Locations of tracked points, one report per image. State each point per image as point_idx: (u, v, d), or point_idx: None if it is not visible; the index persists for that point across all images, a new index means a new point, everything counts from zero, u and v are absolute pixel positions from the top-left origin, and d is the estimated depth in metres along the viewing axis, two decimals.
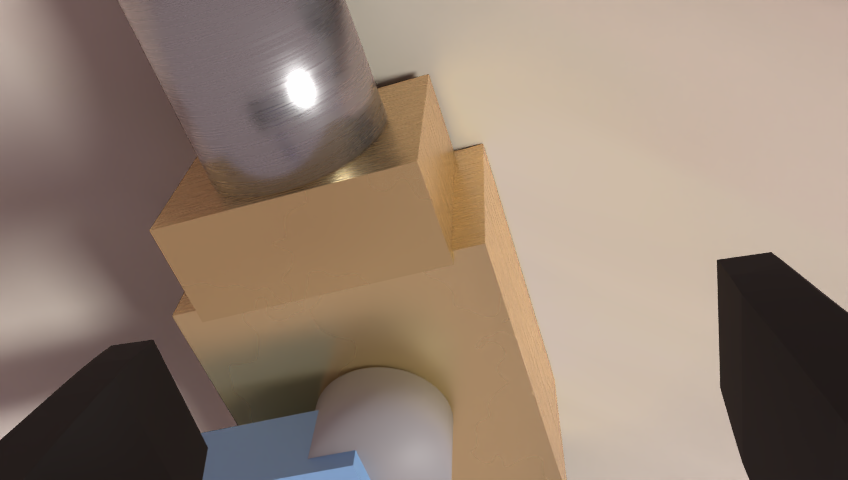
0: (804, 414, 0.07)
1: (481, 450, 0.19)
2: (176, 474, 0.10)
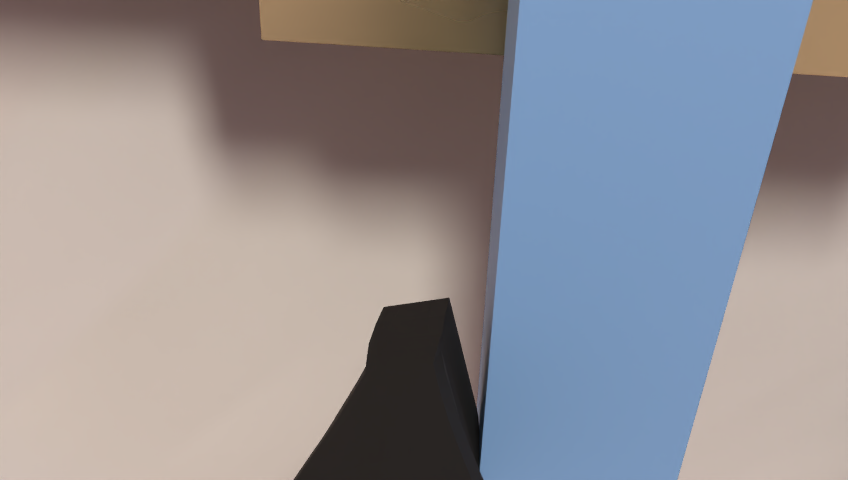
0: None
1: None
2: (472, 441, 0.10)
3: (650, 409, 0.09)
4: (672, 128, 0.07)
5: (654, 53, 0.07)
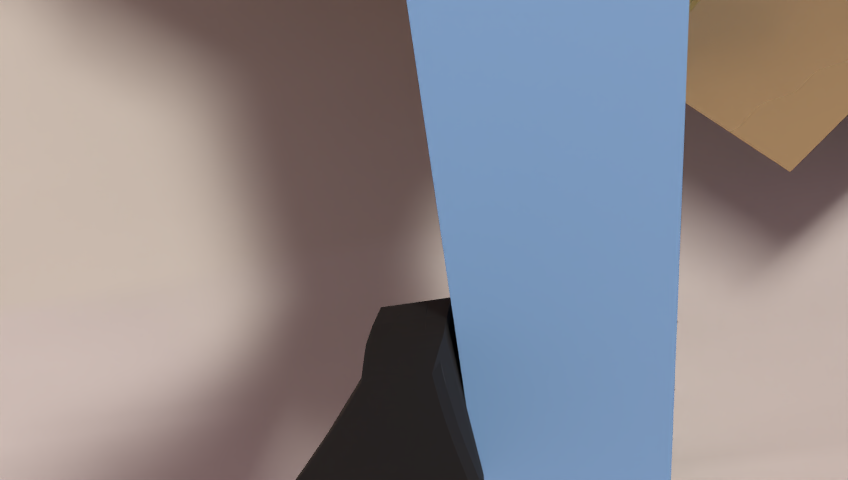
0: None
1: None
2: (474, 441, 0.10)
3: (627, 337, 0.09)
4: (580, 32, 0.07)
5: None
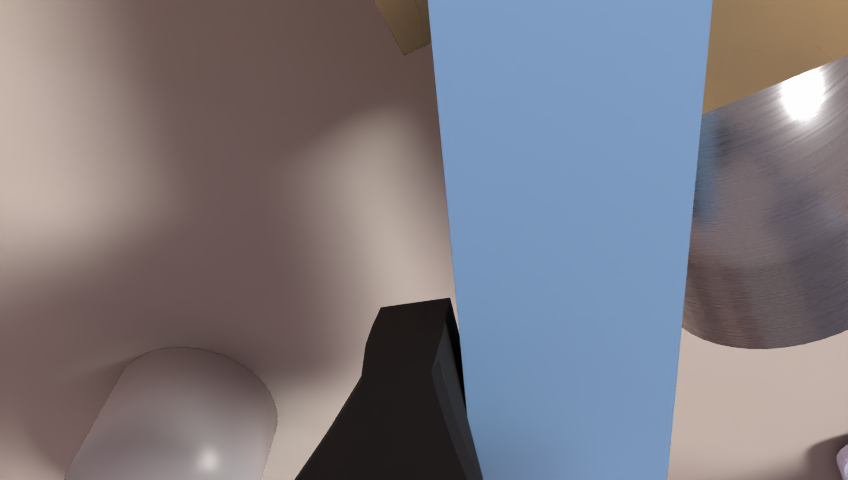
0: None
1: None
2: (472, 441, 0.10)
3: (635, 278, 0.08)
4: None
5: None
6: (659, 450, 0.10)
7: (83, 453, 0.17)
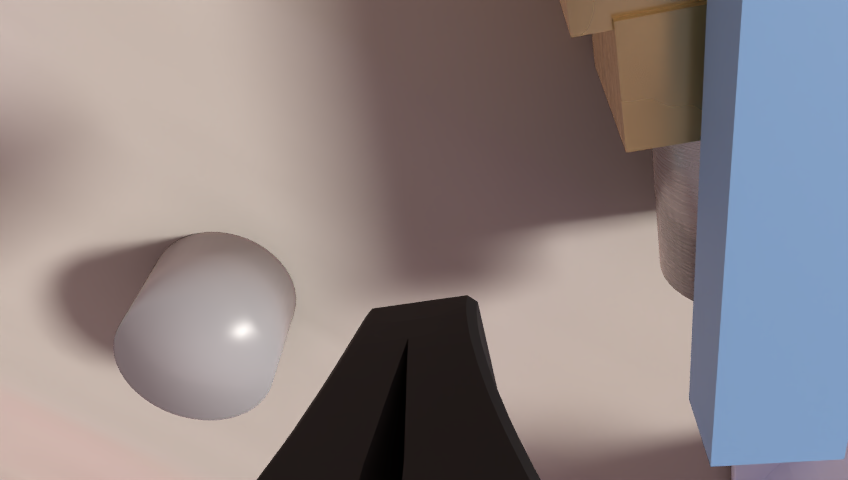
0: None
1: None
2: None
3: None
4: None
5: None
6: None
7: (148, 302, 0.19)
